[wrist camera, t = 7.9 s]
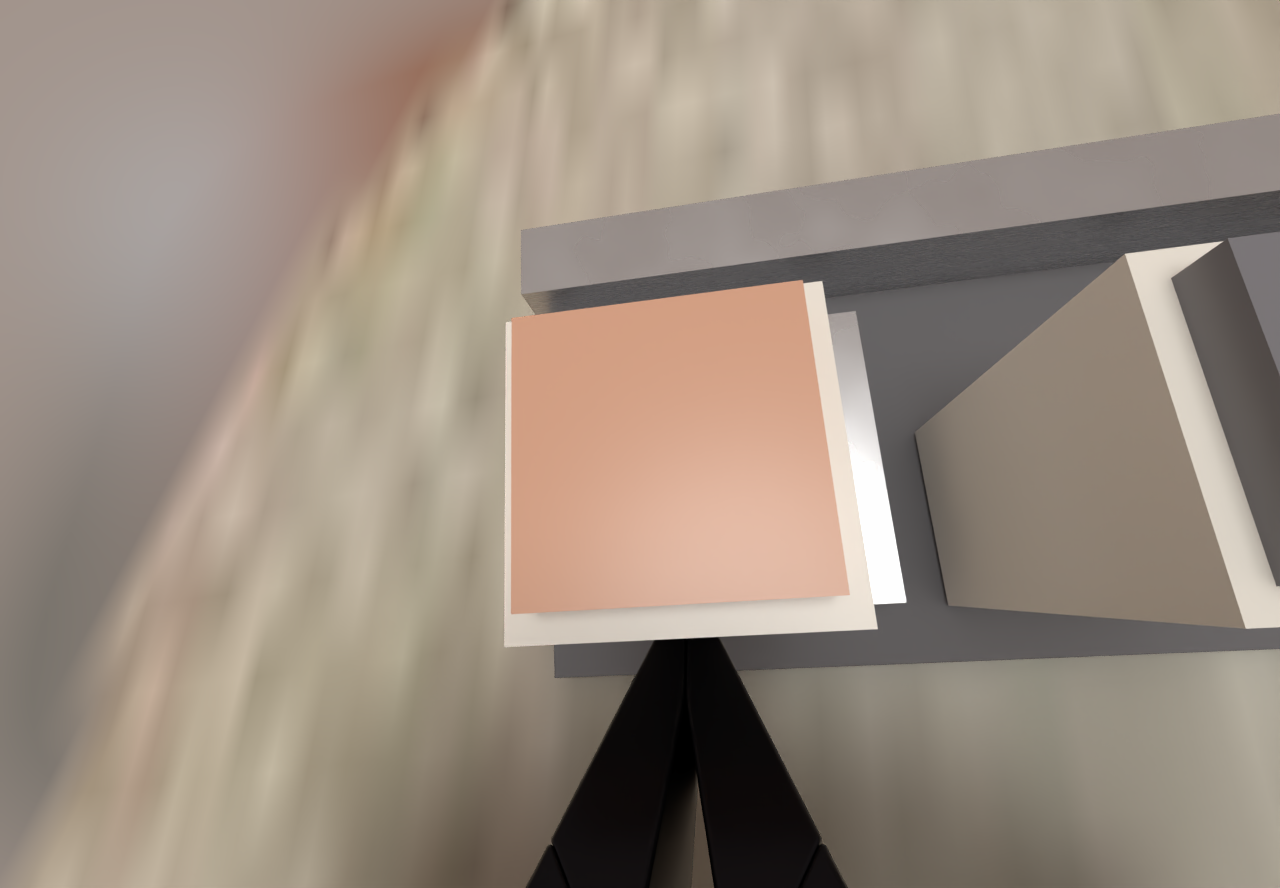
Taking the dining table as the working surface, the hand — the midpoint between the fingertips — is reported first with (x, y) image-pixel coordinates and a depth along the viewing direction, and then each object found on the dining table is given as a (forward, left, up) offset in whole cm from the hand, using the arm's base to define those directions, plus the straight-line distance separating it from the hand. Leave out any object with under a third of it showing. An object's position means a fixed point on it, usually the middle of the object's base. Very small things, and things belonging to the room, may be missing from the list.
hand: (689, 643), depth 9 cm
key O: (+2, +2, -7) cm, 7 cm away
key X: (+7, -4, -7) cm, 11 cm away
